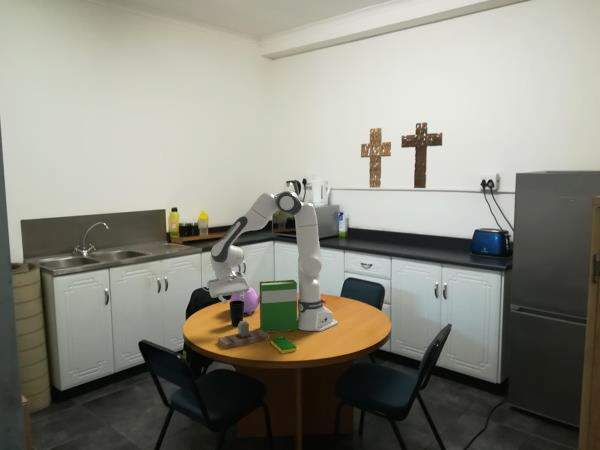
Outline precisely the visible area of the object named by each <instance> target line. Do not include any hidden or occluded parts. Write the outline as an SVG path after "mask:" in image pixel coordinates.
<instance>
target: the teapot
mask: <svg viewBox="0 0 600 450" xmlns="http://www.w3.org/2000/svg"><path fill="white" fill-rule="evenodd" d="M249 287H250V288H249V290H248V292H247V293H244V313H246V314H247V315H253V312H254V311H256V310H257V308H258V307H259V306H260V294H259V295H257V293H256V291H255V289H254V288H253V287H251V286H249ZM230 296H231V297H230V300H229V303H230V302H231V301H236V300H240V297H241V296H242V295H240V294H234V295H230ZM240 301H241V300H240Z"/></svg>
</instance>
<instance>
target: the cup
mask: <svg viewBox="0 0 600 450" xmlns="http://www.w3.org/2000/svg"><path fill="white" fill-rule="evenodd" d="M229 310H230V321H231V326H232V327H234V328H238V323H240V321H244V313H245V312H244V301H240V300H236V301H231V302H230V301H229Z"/></svg>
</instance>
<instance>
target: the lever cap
mask: <svg viewBox="0 0 600 450" xmlns="http://www.w3.org/2000/svg"><path fill="white" fill-rule="evenodd" d="M249 325H250V323H248V321H247V320H244V319H243V321H240V323H238V327H237V328H238V333H237V334H238V337H239V338H240V339H244V338H248V337H249V331H250V327H249Z"/></svg>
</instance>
